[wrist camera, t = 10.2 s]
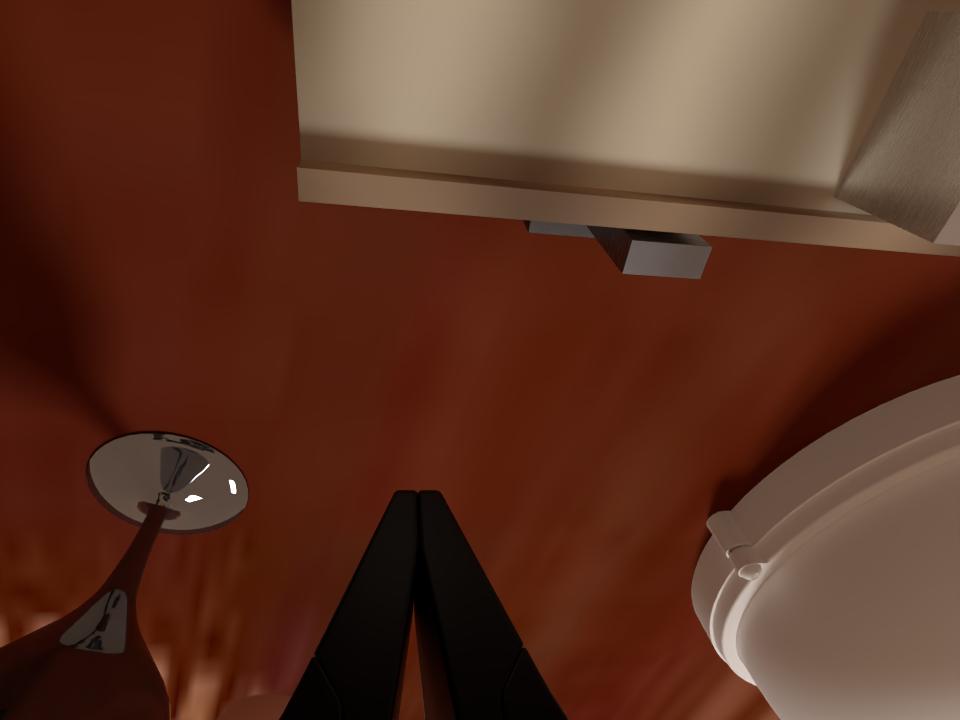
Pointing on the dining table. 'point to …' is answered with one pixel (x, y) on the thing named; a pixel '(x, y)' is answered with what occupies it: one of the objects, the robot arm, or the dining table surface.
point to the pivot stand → (640, 248)
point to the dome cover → (847, 570)
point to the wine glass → (121, 585)
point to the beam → (604, 111)
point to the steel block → (915, 140)
